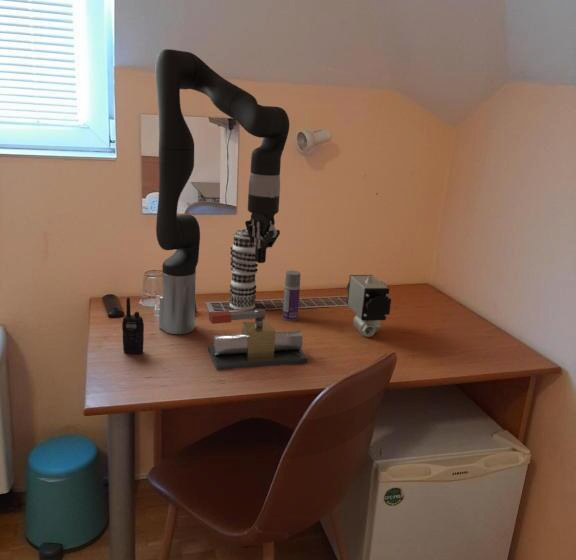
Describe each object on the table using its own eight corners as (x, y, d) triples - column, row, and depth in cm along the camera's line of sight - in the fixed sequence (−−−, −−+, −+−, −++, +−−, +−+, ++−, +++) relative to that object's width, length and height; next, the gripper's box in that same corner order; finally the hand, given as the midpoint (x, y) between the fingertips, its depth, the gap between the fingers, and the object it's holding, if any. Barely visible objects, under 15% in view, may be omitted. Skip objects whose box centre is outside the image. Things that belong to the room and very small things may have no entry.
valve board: (216, 369, 146) (217, 330, 143) (208, 350, 157) (209, 312, 154) (307, 363, 154) (310, 325, 150) (293, 344, 164) (296, 309, 161)
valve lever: (262, 315, 154) (263, 308, 153) (266, 319, 151) (267, 312, 151) (208, 319, 149) (209, 312, 148) (211, 323, 146) (212, 316, 145)
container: (298, 316, 186) (302, 271, 182) (296, 321, 182) (299, 275, 177) (284, 315, 187) (287, 269, 182) (281, 320, 182) (284, 273, 178)
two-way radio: (120, 353, 152) (119, 298, 147) (126, 346, 156) (125, 293, 152) (141, 355, 151) (141, 300, 147) (147, 348, 156) (146, 295, 151)
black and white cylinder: (222, 303, 193) (225, 229, 186) (246, 299, 199) (249, 226, 191) (237, 312, 186) (241, 235, 179) (261, 307, 192) (265, 232, 185)
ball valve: (390, 343, 170) (397, 285, 165) (362, 344, 168) (369, 285, 163) (367, 321, 187) (374, 267, 181) (342, 321, 184) (347, 267, 179)
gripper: (236, 188, 144) (233, 256, 149) (265, 198, 134) (261, 271, 139) (263, 188, 148) (259, 254, 153) (292, 197, 138) (287, 267, 143)
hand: (260, 262), depth 146 cm, fingers closed
